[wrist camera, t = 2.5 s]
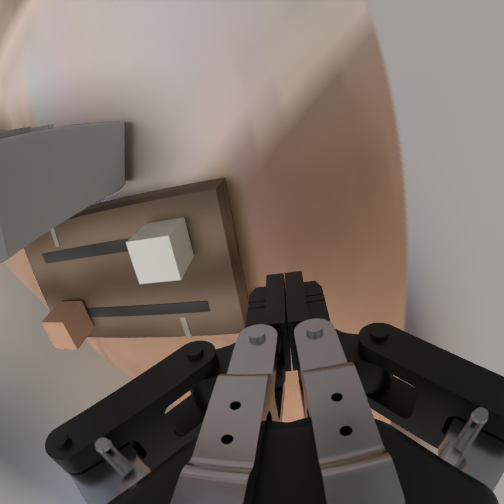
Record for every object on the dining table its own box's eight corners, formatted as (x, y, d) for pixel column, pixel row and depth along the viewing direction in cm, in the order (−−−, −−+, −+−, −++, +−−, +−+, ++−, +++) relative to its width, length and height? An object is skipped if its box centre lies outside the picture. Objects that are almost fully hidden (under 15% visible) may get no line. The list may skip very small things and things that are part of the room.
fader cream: (146, 223, 21) (125, 242, 18) (184, 216, 21) (168, 235, 18) (156, 260, 22) (139, 284, 19) (194, 256, 22) (181, 280, 19)
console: (42, 217, 26) (17, 232, 23) (224, 176, 24) (215, 187, 20) (80, 316, 31) (63, 337, 27) (249, 306, 29) (246, 334, 25)
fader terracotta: (60, 301, 25) (41, 322, 22) (81, 300, 25) (62, 322, 22) (72, 326, 26) (55, 348, 23) (94, 327, 26) (77, 350, 23)
